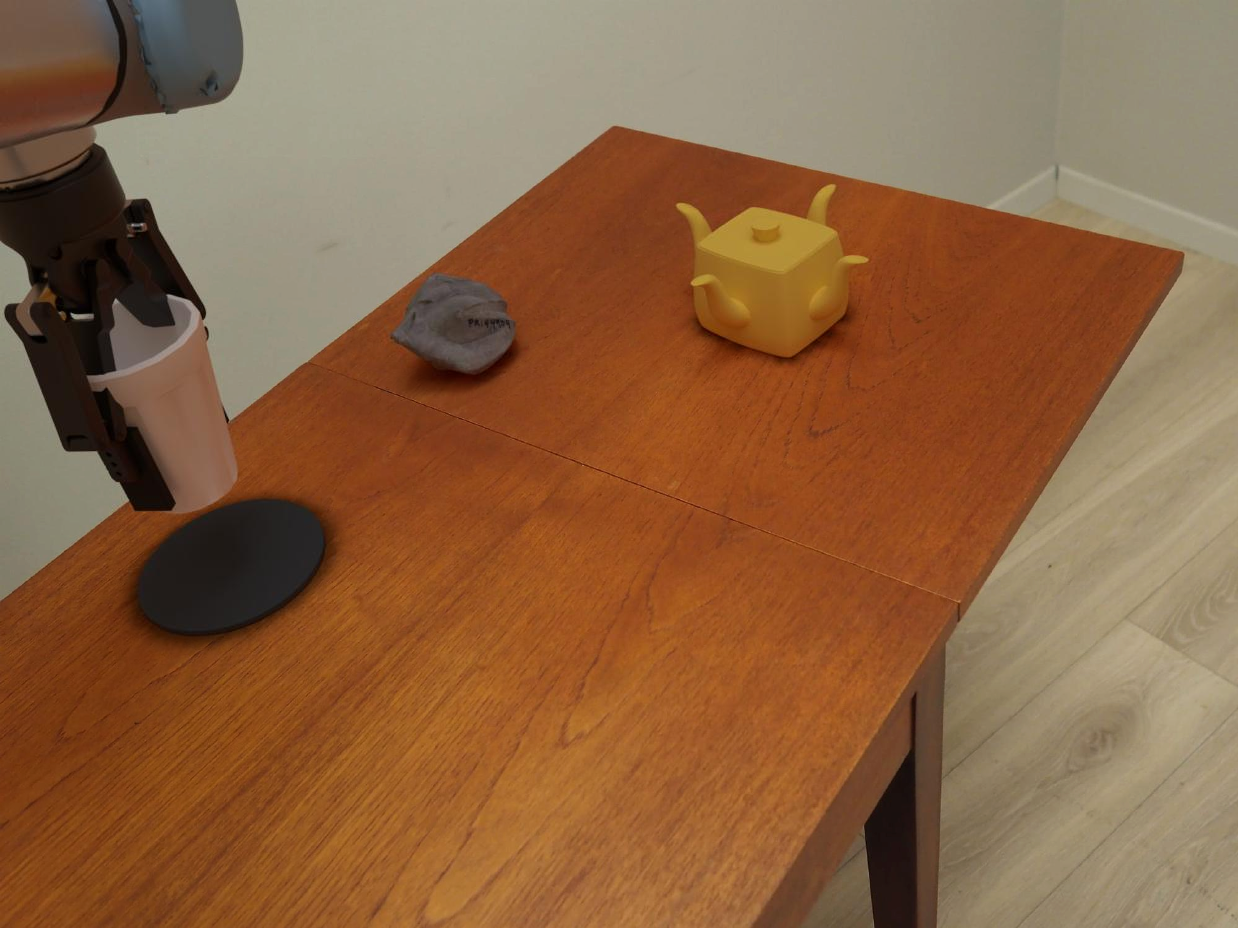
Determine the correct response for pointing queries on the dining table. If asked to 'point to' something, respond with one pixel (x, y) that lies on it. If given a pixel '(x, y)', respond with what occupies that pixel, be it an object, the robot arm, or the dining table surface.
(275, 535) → the mat
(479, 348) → the fossil
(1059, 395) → the dining table surface
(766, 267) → the teapot
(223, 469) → the cup
